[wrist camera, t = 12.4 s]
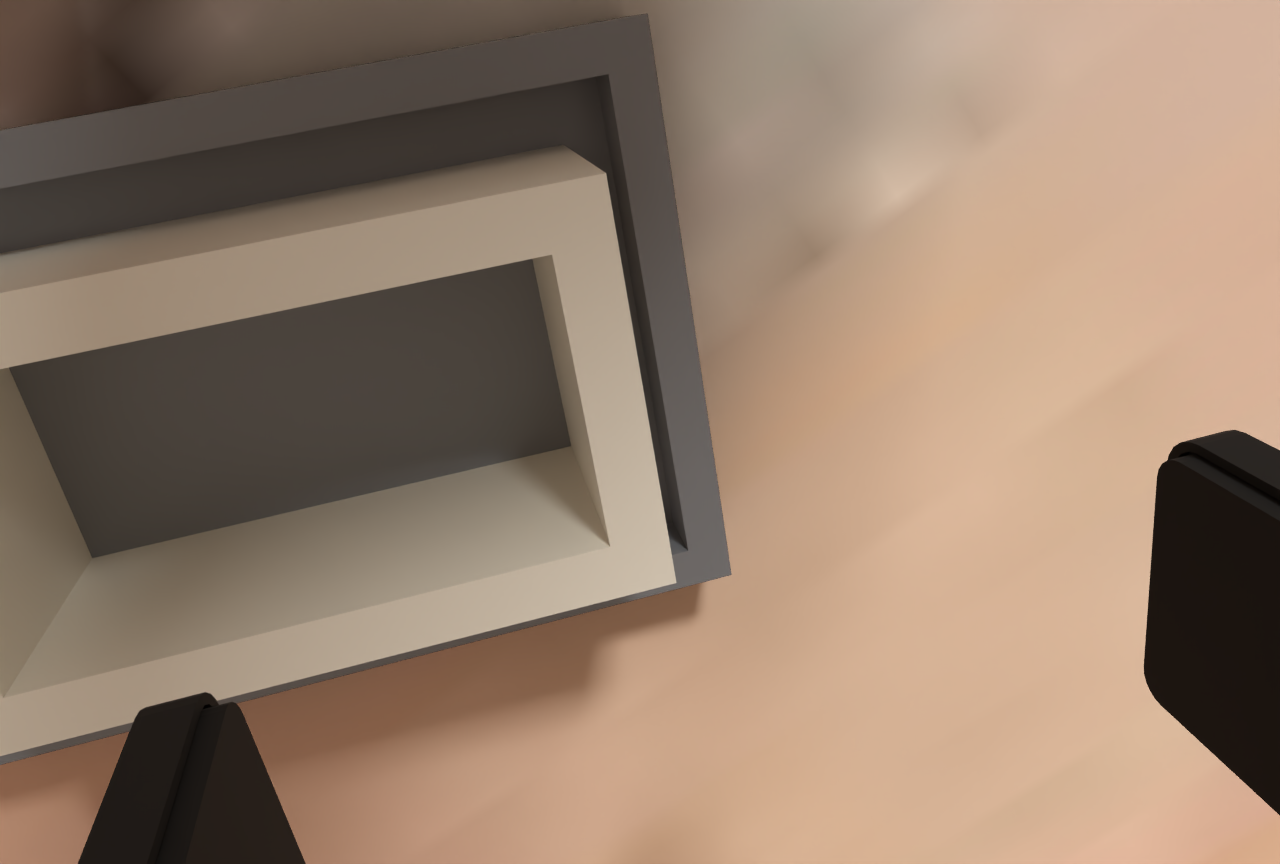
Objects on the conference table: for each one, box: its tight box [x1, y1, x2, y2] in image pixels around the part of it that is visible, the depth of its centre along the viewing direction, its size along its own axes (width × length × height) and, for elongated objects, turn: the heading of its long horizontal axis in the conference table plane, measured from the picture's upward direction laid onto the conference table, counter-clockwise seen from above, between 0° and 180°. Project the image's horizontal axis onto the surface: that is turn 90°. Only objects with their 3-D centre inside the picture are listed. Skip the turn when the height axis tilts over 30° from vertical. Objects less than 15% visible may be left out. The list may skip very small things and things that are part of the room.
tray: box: [0, 14, 731, 765], centre depth 22 cm, size 13×19×2 cm
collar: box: [0, 145, 676, 756], centre depth 20 cm, size 8×14×6 cm, turn 100°
